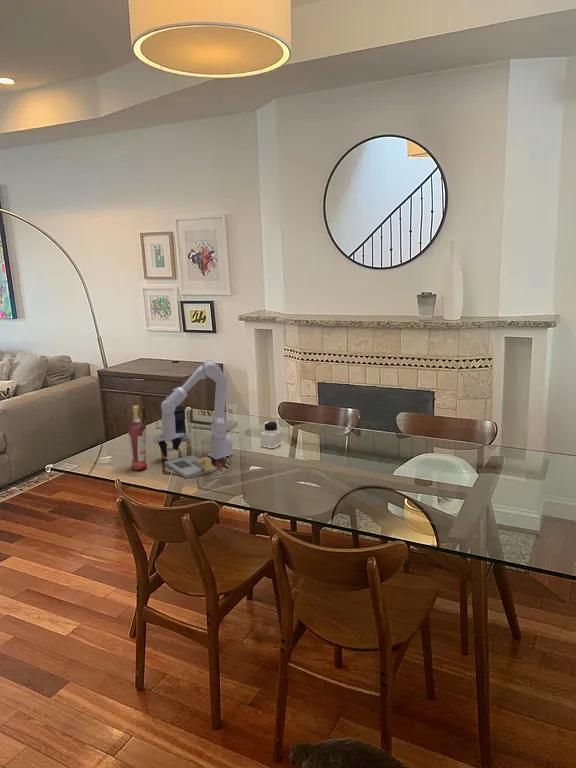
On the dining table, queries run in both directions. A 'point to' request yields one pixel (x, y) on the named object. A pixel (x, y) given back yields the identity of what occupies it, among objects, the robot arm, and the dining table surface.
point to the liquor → (137, 441)
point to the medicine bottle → (270, 434)
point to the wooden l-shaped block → (205, 463)
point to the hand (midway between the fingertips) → (170, 455)
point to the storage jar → (180, 420)
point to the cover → (171, 454)
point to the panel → (187, 466)
